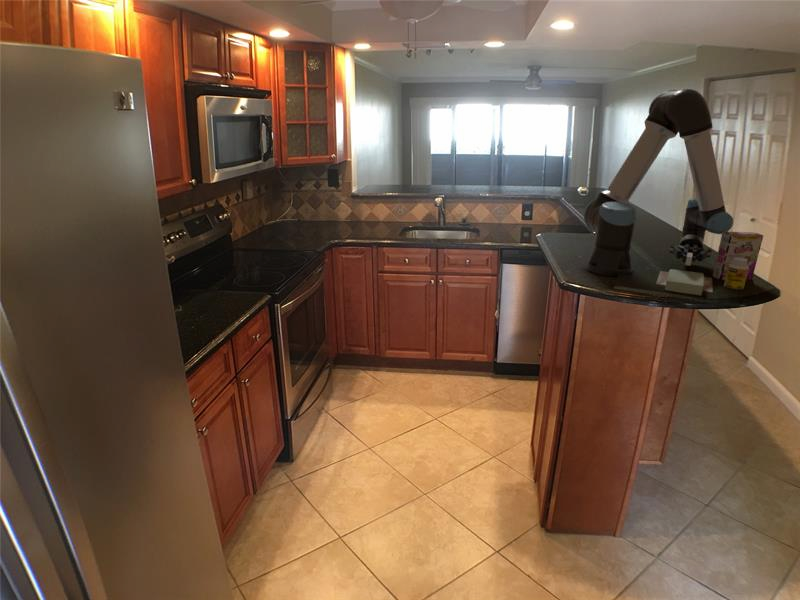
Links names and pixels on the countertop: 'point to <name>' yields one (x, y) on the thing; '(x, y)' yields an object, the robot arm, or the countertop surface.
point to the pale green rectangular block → (685, 282)
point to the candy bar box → (737, 251)
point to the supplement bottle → (736, 274)
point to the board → (664, 275)
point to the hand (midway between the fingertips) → (688, 261)
